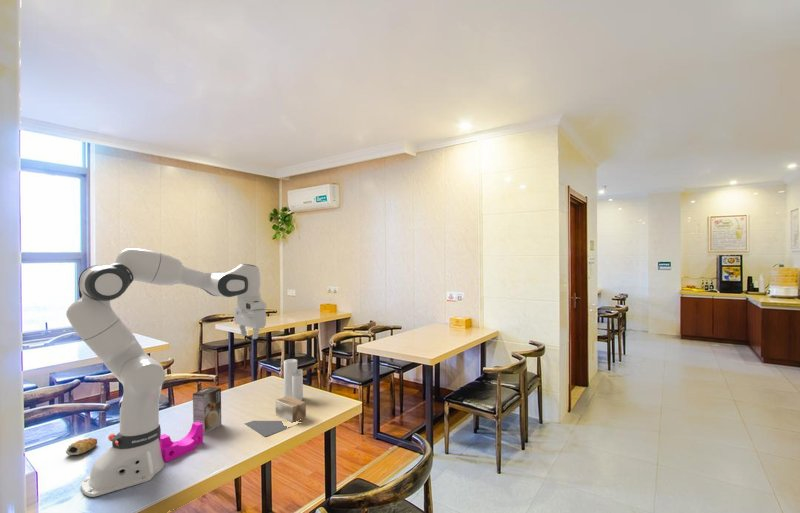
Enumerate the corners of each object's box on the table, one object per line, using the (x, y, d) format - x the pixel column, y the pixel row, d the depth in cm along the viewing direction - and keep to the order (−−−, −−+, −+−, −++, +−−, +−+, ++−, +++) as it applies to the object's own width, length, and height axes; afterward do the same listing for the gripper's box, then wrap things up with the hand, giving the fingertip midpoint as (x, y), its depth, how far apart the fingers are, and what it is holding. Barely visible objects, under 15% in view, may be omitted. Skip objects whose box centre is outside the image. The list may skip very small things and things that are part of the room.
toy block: (165, 462, 136) (165, 440, 136) (156, 457, 139) (156, 436, 139) (206, 444, 148) (206, 425, 148) (197, 440, 152) (197, 421, 152)
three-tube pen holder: (281, 401, 192) (280, 361, 192) (291, 397, 198) (291, 358, 198) (297, 406, 186) (297, 364, 186) (308, 401, 192) (307, 361, 192)
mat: (265, 437, 153) (265, 436, 153) (244, 424, 165) (244, 423, 165) (326, 414, 176) (326, 413, 176) (303, 404, 188) (303, 403, 188)
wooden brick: (291, 407, 165) (305, 402, 170) (275, 400, 174) (289, 395, 179) (292, 423, 165) (305, 418, 170) (275, 415, 174) (289, 410, 179)
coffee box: (210, 423, 167) (209, 386, 167) (221, 425, 165) (221, 387, 165) (192, 432, 158) (192, 393, 158) (204, 434, 156) (204, 395, 156)
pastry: (87, 443, 149) (86, 433, 149) (103, 443, 148) (102, 433, 148) (63, 456, 140) (63, 445, 140) (81, 456, 139) (80, 445, 139)
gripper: (230, 302, 163) (230, 335, 163) (253, 306, 149) (253, 341, 149) (244, 300, 167) (244, 332, 167) (268, 304, 154) (269, 339, 154)
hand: (249, 337), depth 158 cm, fingers open, 8 cm apart
